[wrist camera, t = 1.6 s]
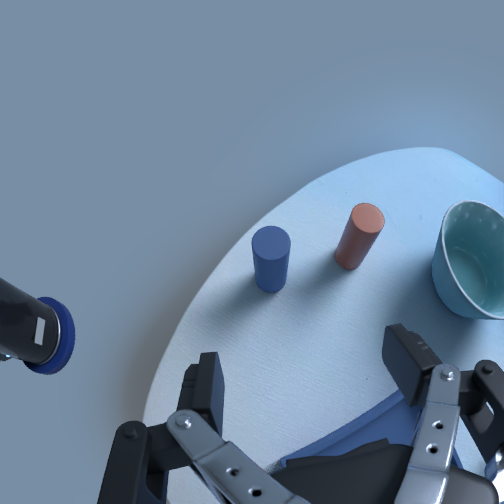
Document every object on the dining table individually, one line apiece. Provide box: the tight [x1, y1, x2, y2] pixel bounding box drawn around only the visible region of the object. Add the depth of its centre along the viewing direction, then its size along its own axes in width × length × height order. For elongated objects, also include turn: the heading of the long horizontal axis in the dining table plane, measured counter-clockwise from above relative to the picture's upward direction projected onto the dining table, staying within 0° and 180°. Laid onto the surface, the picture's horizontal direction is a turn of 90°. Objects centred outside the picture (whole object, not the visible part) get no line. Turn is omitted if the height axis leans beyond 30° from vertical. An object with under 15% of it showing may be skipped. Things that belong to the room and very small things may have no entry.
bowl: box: [432, 200, 504, 320], centre depth 30 cm, size 16×16×8 cm
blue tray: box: [281, 389, 463, 469], centre depth 23 cm, size 17×15×3 cm
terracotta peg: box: [335, 203, 385, 269], centre depth 32 cm, size 4×4×9 cm
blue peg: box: [252, 226, 291, 292], centre depth 32 cm, size 4×4×9 cm
